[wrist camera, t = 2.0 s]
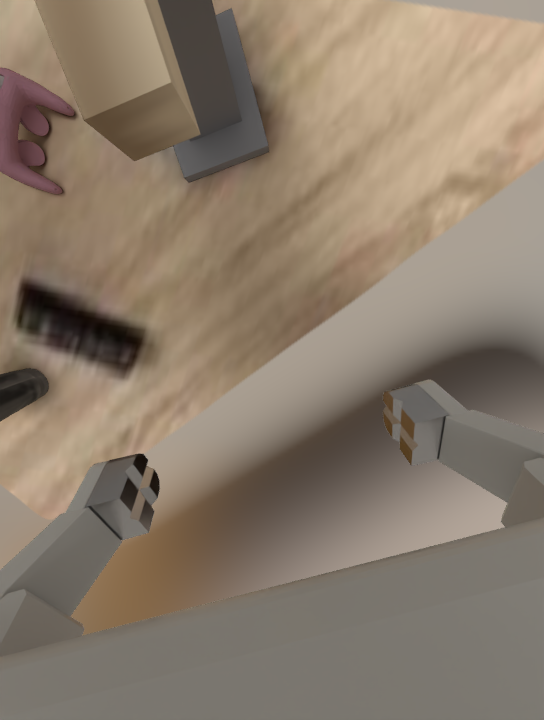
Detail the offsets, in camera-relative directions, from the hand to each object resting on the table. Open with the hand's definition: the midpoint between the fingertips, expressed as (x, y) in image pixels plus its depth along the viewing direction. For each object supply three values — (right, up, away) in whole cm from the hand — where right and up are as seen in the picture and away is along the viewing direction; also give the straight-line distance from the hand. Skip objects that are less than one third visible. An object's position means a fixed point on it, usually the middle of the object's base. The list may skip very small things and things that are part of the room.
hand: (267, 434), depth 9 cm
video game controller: (-26, +28, +23) cm, 44 cm away
